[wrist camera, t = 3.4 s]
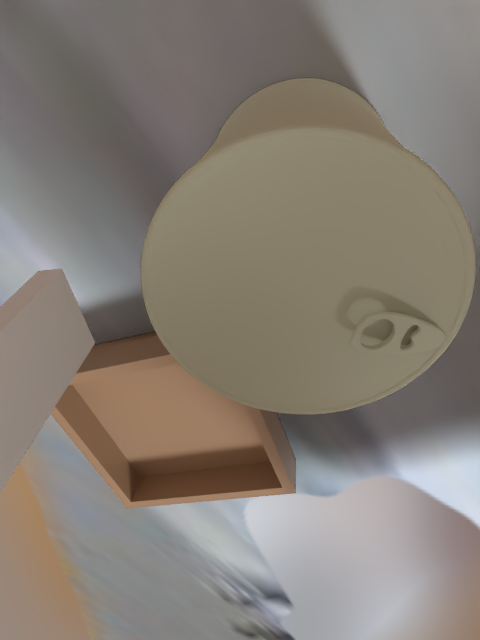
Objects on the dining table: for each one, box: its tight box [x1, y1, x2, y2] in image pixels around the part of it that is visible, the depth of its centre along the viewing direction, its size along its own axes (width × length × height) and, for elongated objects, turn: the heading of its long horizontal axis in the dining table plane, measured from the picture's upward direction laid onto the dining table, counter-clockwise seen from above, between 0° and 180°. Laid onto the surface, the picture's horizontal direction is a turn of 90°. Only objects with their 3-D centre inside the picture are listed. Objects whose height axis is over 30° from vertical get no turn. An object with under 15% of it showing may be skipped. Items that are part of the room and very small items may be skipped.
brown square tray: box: [51, 332, 296, 508], centre depth 30 cm, size 15×15×3 cm
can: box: [141, 78, 476, 415], centre depth 16 cm, size 9×9×12 cm
